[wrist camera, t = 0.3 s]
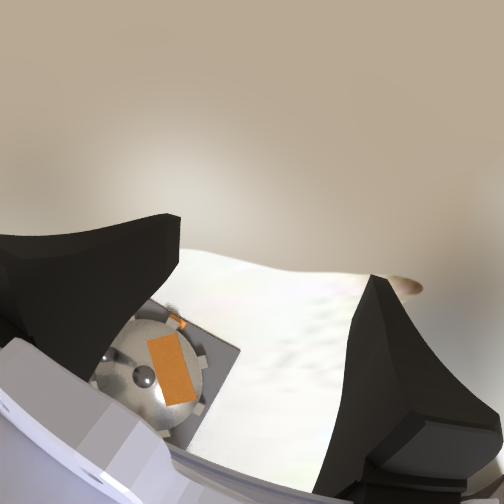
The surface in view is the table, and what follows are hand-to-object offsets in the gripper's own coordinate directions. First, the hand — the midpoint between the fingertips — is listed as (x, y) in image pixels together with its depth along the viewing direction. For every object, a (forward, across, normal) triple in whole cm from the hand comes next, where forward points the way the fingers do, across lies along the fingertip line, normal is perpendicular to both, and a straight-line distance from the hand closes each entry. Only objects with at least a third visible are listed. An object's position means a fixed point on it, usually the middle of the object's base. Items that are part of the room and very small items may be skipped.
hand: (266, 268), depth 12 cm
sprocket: (+12, +14, +30) cm, 35 cm away
